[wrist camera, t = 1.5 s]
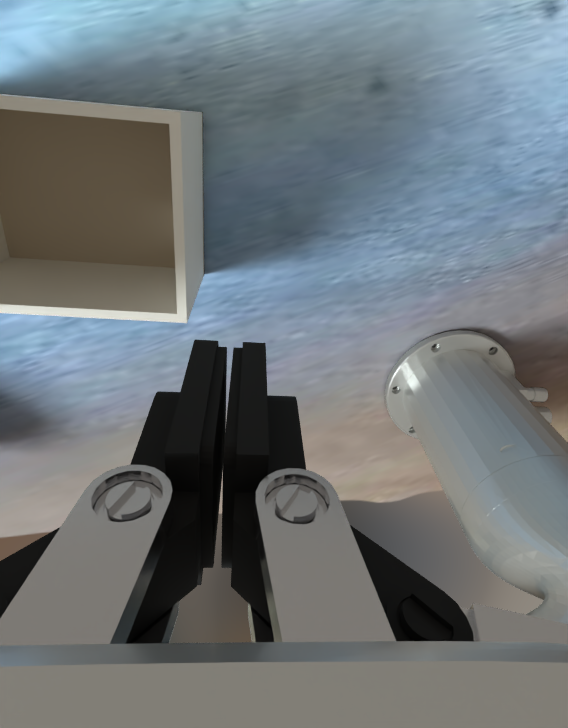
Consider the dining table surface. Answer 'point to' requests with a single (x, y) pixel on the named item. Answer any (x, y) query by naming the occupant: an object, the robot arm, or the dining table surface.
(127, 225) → the carton
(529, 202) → the dining table surface
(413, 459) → the dining table surface
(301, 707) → the robot arm
